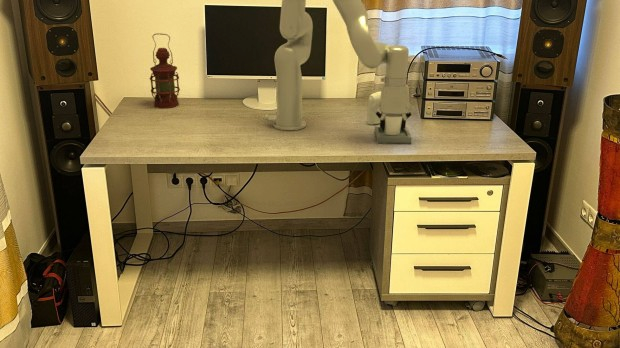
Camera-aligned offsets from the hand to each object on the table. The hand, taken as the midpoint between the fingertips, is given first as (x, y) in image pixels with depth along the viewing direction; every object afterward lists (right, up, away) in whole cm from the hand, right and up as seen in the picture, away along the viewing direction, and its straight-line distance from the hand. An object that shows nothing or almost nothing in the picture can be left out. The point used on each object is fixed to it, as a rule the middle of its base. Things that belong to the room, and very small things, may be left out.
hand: (392, 129), depth 231 cm
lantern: (-91, +13, +39) cm, 99 cm away
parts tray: (0, -3, +1) cm, 3 cm away
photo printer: (-3, +4, +19) cm, 20 cm away
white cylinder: (0, -1, +1) cm, 2 cm away
